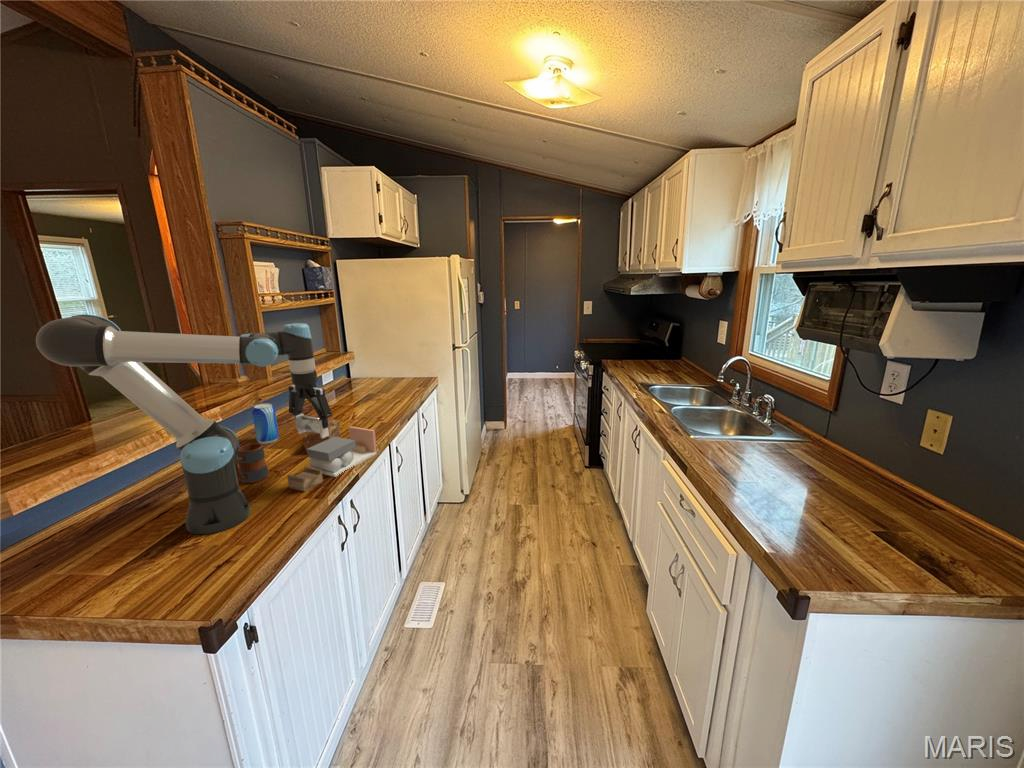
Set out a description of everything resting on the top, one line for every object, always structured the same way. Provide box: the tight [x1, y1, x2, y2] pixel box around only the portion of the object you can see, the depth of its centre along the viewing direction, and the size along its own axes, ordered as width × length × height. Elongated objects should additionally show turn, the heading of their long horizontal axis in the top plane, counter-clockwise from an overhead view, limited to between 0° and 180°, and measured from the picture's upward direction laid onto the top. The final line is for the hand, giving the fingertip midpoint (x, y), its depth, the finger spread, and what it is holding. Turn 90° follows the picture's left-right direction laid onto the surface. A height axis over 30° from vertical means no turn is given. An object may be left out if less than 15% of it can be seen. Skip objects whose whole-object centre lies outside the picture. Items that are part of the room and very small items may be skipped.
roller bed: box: [309, 426, 378, 478], centre depth 154 cm, size 12×22×10 cm, turn 159°
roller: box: [294, 415, 329, 433], centre depth 137 cm, size 10×5×5 cm, turn 67°
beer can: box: [251, 403, 280, 445], centre depth 174 cm, size 8×8×16 cm
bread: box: [303, 418, 340, 453], centre depth 171 cm, size 19×11×10 cm, turn 11°
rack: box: [286, 465, 324, 492], centre depth 138 cm, size 8×7×4 cm
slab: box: [306, 436, 356, 461], centre depth 149 cm, size 10×13×3 cm
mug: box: [236, 442, 269, 484], centre depth 139 cm, size 9×12×12 cm
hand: (313, 434), depth 138 cm, fingers closed on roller, 10 cm apart
